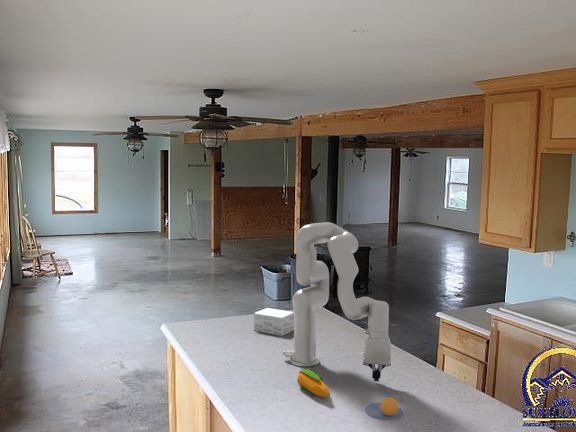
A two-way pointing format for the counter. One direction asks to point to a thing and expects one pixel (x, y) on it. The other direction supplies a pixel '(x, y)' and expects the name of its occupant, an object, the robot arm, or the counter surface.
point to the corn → (312, 383)
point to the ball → (389, 406)
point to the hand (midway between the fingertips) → (376, 379)
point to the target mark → (376, 412)
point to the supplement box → (274, 321)
